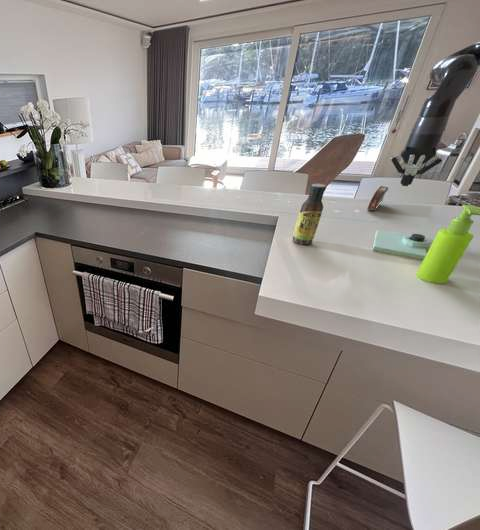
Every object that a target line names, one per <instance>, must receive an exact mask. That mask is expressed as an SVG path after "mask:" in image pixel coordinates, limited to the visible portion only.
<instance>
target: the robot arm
mask: <svg viewBox="0 0 480 530" xmlns="http://www.w3.org/2000/svg"><path fill="white" fill-rule="evenodd" d="M479 66H480V41H477V42H475V43H473V44H470V45H468V46H465V47H464V48H462V49H460V50H458V51H455V52H454V53H452V54H449V55H448V56H446V57H444V58H443V59H441V60H440V61H438V62H437V63H436V64H435V65H434V66H433V67H432V69H431V70H430V73H429V80H430V82H431V83H432V84H434V85H438V86H437V89H436V90H435V92H434V93H433V94H431V95H429V96H427V97H426V98H425V100H424V102H423V104H422V106H421V109H420V111H419V114H418V116H417V118H416V120H415V122H414V124H413V126H412V128H411V132H410V134H409V136H408V139H407V141H406V144H405V146H404V148H403V150H401V152H400V153H399V154H396V155H393V156H392V157H391V158H390V161H391V163H392V164H393V166H394V168H395V170H396V171H397V173H399V174H402V177H401V180H400V185H401V186H402V187H408V186H410V185H412V183H413V181H414V179H415V176H417V175H423V174H425V173H426V172H428V171H429V170H431V169H432V168H434V167H436V166H437V165H439V164H441V163H442V162H443V159H442V158H441V157H439V156H438V155H437V149H438V146H439V144H440V142H441V139H442V138H443V135H444V133H445V131H446V130H447V126H448V124H449V120H450V116H451V114H452V111H453V109H454V107H455V105H456V102H457V100H458V99H459V97H460V96H461V95H462V94H463V92H465V90H466V88H467V87H468V85H469V84H471V83H470V82H471V81H472V79H473V78H474V77H475V75H476V72H477V71H478V68H479ZM401 158H402V160H403V162H404V164H405V168H403V166H402V165H401V164H400V163H401V162H400V161H401ZM428 161H429V163H427V162H428ZM425 163H427V164H426V165H424V164H425ZM422 165H423V167H421V166H422ZM412 166H413V167H412Z"/></svg>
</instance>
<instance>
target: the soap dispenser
mask: <svg viewBox="0 0 480 530" xmlns="http://www.w3.org/2000/svg"><path fill="white" fill-rule="evenodd" d="M461 208H463V209H462V211H461V213H460V215H459V216H456V217H453V218H452V220H451V221H450V223H449V225H448V226H447V228H440V229H439V230H438V231H437V234H436V235H435V237H434V239H433V242H431V244H430V246H429V249H428V250H427V251H426V256H425V258H424V260H422V261H421V263H420V265H419V268H418V270H417V271H416V273H415V275H416V276H417V277H418V278H419V279H421V280H423V281H425V282H428V283H433V284H438V285H439V284H445V283H447V282H448V280H449V279H450V277H451V275H452V273H453V272H454V270H455V269H456V267H457V265H458V264H459V262H460V260H461V258H462V257H463V255H464V254H465V252H466V250H467V248H468V247H469V246H470V243H471V242H472V241H473V239H474V234H472V233H471V232H469V231H470V229H471V228H472V225H473V224H474V223H475V221H474V220H473V219H472V218H471V217H472V216H480V208H479V207H478V206H476V205H474V204H473V205H472V204H462V206H461Z"/></svg>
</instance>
